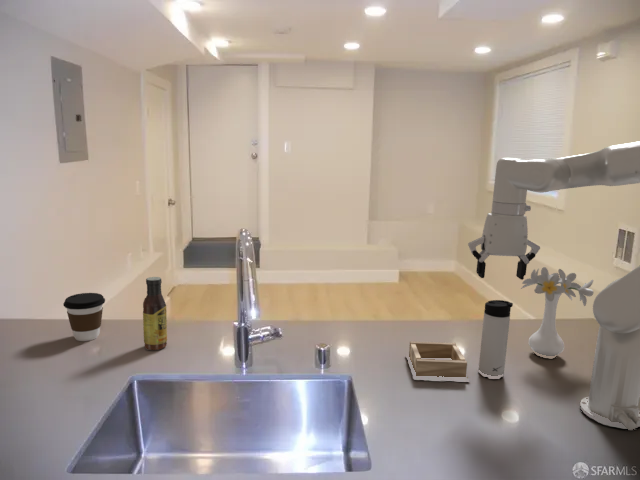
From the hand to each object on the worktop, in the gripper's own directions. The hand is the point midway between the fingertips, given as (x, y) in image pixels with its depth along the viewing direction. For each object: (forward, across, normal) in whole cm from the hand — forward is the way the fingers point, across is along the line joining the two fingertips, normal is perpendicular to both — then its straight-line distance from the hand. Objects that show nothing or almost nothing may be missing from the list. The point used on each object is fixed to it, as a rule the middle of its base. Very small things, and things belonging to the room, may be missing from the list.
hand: (500, 277), depth 126 cm
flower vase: (+26, -20, -14) cm, 36 cm away
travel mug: (+26, 0, 0) cm, 26 cm away
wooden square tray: (+26, +14, -2) cm, 30 cm away
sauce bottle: (+27, +91, -10) cm, 95 cm away
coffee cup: (+27, +113, -15) cm, 117 cm away
